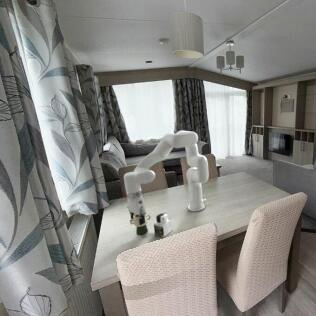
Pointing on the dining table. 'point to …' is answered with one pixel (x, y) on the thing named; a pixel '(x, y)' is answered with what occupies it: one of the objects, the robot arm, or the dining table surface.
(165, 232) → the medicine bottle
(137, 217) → the character mug
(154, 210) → the dining table surface
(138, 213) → the robot arm
